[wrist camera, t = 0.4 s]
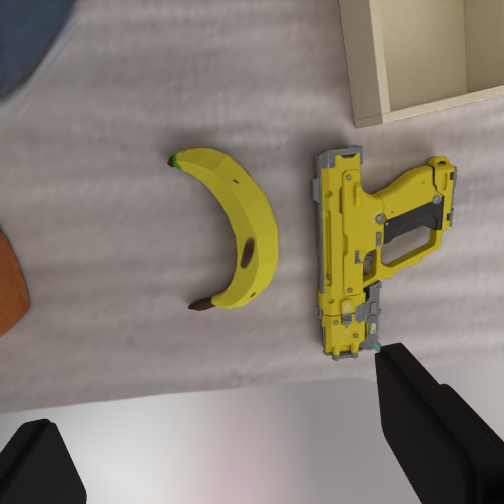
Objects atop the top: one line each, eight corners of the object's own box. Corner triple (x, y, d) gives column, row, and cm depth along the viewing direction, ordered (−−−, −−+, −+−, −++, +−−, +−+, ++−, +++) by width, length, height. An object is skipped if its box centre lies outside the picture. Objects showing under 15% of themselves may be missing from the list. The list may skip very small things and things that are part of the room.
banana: (207, 120, 31) (94, 216, 35) (315, 267, 35) (201, 339, 39) (216, 122, 35) (115, 207, 39) (311, 252, 39) (210, 318, 43)
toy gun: (462, 134, 34) (314, 148, 33) (442, 350, 42) (321, 366, 41) (443, 135, 37) (306, 148, 36) (428, 337, 45) (314, 351, 44)
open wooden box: (337, -9, 33) (363, -48, 26) (465, -40, 33) (523, -86, 26) (355, 128, 36) (382, 123, 30) (470, 100, 36) (522, 90, 30)
